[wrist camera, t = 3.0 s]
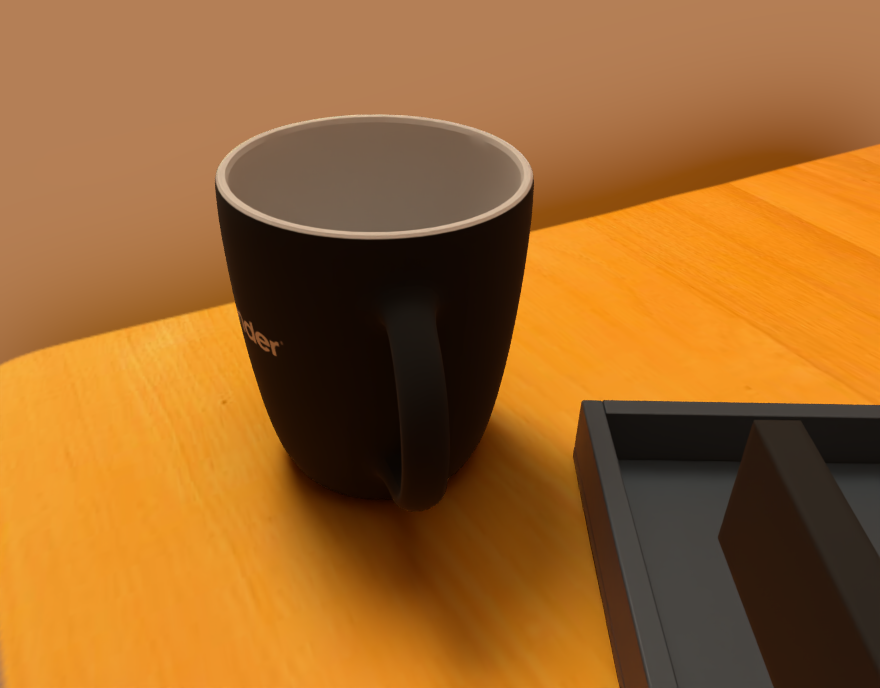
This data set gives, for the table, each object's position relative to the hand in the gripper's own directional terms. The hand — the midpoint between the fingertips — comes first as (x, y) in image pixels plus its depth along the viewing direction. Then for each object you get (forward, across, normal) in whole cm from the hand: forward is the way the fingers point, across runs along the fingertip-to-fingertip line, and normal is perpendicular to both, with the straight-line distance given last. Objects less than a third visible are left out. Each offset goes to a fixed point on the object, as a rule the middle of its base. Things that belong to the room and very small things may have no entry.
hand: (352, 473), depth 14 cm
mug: (+10, 0, -10) cm, 14 cm away
